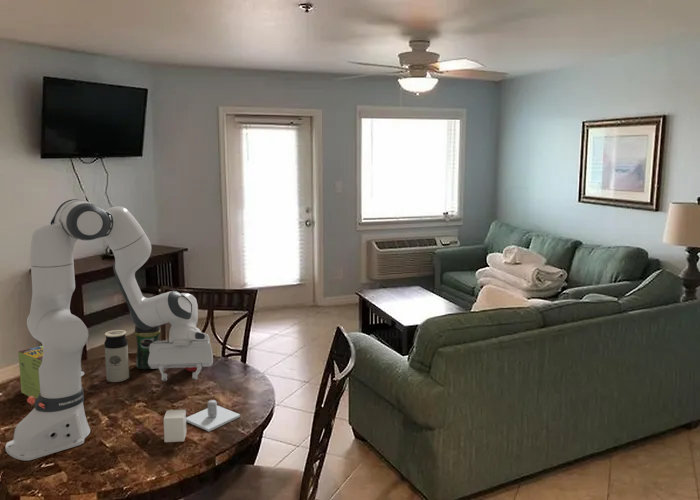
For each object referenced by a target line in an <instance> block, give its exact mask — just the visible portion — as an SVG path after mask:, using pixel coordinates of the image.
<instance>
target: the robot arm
mask: <svg viewBox="0 0 700 500" xmlns="http://www.w3.org/2000/svg"><path fill="white" fill-rule="evenodd" d="M100 238H103V240H104V241H105V242H106V243H107V245H108V246H109V248H110V249H111V252H112V253H113V256H114V263H113V267H112V269H113V274H114V277H115V279H116V281H117V283H118V284H117V285H118V286H119V288H120V291H121V293H122V295H123V298H124V300H125V302H126V304H127V307H128V310H129V313H130V314H129V315H130V318H131V321H132V323H133V324H134V325H135V326H137V327H139V328H141V329H143V330H149V329H151V328H154V327H156V326H161V325H165V324H170V325H171V326H170V329H169V333H168V339H163V340H159V341H155V342H152V343H151V344H150V346H149V352H150V354H149V358H148V365H149V366H150V368H152V369H153V370H154V369H158V370H159V373H160V375H161V381H163V382H165V381H167V380H168V373H167V372H166V373H165V372H164V371H165V369H176V368H179V369H180V368H185V367H197V370H196V371H192V374H191V375H192V377H191V378H192V380H198V376H199V374H200V372H201V371H202V370H203V368H202V367H206V368H207V367H211V366H212V365H214V356H213V348H212V345H211V339H210V336H209V334H208V333H205V332H202V331H201V332H197V329H196V327H197V324H198V321H199V319H198V318H199V305H198V300H197V298H196V297H195V296H194V295H193V294H191V293H187V292H181V293H180V292H179V291H176V290H171V291H167V292H163V293H160V294H158V295H155V296H152V297H151V296H150V297H145V296H144V295H143V293H142V291H141V288H140V286H139V284H138V282H137V279H136V272H137V271H138V270H139V269H140V268H141V267H143V265H144V264H145V263H147V262H148V260H149V258H150V256H151V254H152V243H151V241H150V239H149V237H148V236H147V234H146V232H145V230H144V229H143V228H142V226H141V225H140V223H139V222H138V220H137V219H136V218H135V217H134V215H133V214H132V213H131V212H130V211H129V209H127V208H126V207H124V206H118V205H116V206H112V207H110V208H107V209H104V208H101V207H100V206H98V205H96V204H93V203H92V202H90V201H87V200H83V199H76V198H74V199H73V198H72V199H69V200H68V199H67V200H66V201H64V202H63V203H61V204H60V205H59V207H58V208H57V209H56V212H55V213H54V215H53V217H52V219H51V221H50V224H47V225H46V224H45V225H41V226H39V227H38V228H36V229H35V230H34V231H33V232H32V237H31V243H30V254H29V255H30V256H29V257H30V258H29V259H30V273H31V289H32V290H31V301H30V308H29V309H30V310H29V314H28V316H27V319H26V326H27V327H26V328H27V330H28V331H29V333H30V335H31V336H32V337H33V338H34V339H35V340H36V341H38V342H40V343H41V346H43V358H42V364H41V365H40V367H39V382H40V394H39V396H38V398H37V399H36V398H34V397H33V396H30V397H29V396H28V398H26V401H27V403H28V404H30V405H34V407H33V409H31V411H30V412H29V413H28V414H27V415H26V416H25V417H24V418H22V419H21V421H20V422H18V423H17V424H16V426H15V428H14V432H13V439H12V440H9V441H7V442H6V444H5V447H4V449H5V453H7V455H8V456H10V457H12V458H14V459H16V460H20V461H25V462H27V461H32V460H33V461H34V460H36V459H39V458H43V457H46V456H49V455H52V454H54V453H58V452H61V451H65V450H69V449H71V448H75V447H79V446H81V445H82V444H83V445H84V444H85V439H86V438H87V437H88V436H89V435H90V433H91V428H90V426H89V423H88V420H87V417H86V413H85V407H84V404H85V394H84V387H83V386H82V376H81V371H82V368H81V369H80V363H81V364H82V355H83V351H84V347H85V345H86V344H87V342H88V340H89V339H88V338H89V330H88V327H87V326H86V324H85V323H84V322H83V320H82V319H81V318H79V316H76V314H72V313H71V309H70V308H71V302H72V301H71V300H72V296H73V293H74V292H75V289H76V280H75V279H76V278H75V277H76V276H75V265H74V264H75V262H74V253H73V252H74V247H75V244H76V242H77V241H78V240H80V241H93V240H96V239H100ZM153 343H155V344H153Z"/></svg>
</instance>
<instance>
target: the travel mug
mask: <svg viewBox="0 0 700 500" xmlns="http://www.w3.org/2000/svg"><path fill="white" fill-rule="evenodd" d="M126 334H127V331H126V330H123V329H116V330H110V331H109V330H108V331H107V332H105V333H104V336H105V340H104V358H105V359H104V360H105V373H106V374H105V378H106V381H108V382H110V383H119V382H123V381H126V380H127V379H129V378H130V364H129V349H128V347H129V345H128V339H127V337H126Z"/></svg>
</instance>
